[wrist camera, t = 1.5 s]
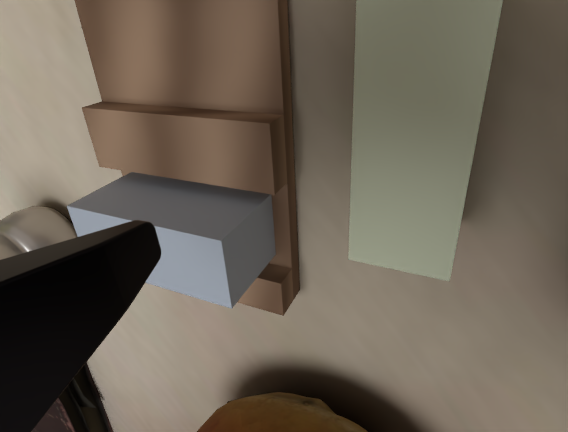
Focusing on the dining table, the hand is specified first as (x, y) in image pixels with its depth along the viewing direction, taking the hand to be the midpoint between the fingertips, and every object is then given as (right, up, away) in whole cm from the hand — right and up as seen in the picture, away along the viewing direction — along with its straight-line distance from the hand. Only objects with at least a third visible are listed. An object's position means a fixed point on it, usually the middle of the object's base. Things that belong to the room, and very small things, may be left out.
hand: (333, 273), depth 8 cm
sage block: (+5, +6, +9) cm, 12 cm away
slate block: (-6, +1, +17) cm, 18 cm away
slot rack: (-6, +6, +15) cm, 17 cm away
